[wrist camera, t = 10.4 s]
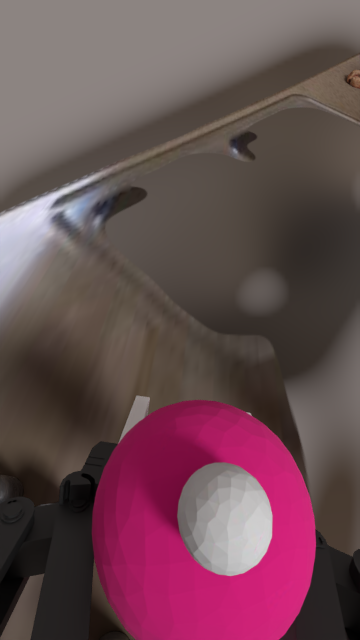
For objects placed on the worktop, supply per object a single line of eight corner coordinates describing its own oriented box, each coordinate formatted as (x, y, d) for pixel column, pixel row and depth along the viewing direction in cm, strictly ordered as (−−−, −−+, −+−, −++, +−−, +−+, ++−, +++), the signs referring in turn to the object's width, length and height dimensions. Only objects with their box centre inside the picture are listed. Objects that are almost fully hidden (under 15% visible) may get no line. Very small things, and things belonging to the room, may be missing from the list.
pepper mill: (125, 451, 23) (44, 328, 6) (214, 446, 24) (358, 322, 7) (121, 567, 20) (-95, 1029, 3) (227, 557, 20) (598, 875, 3)
